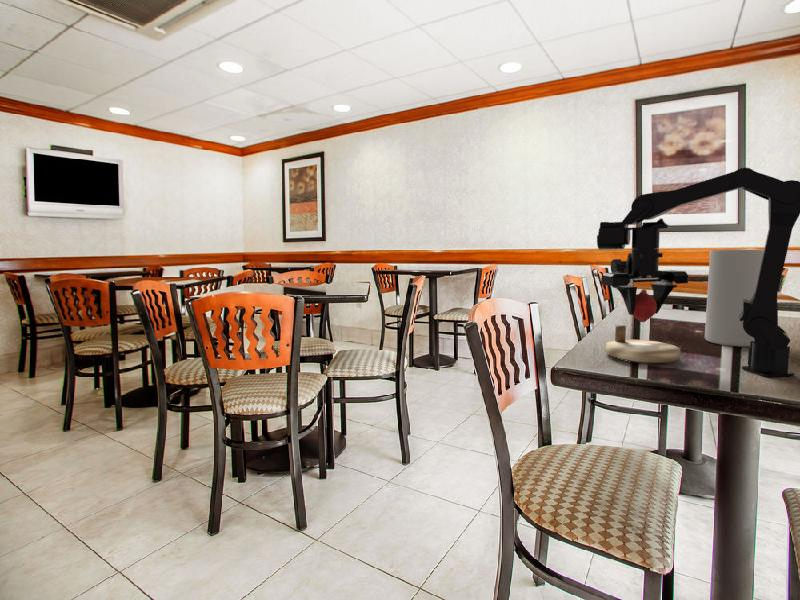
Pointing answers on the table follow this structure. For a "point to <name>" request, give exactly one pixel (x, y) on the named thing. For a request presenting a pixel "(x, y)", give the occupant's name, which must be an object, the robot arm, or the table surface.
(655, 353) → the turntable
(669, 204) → the robot arm
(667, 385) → the table surface
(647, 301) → the onion
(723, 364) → the table surface
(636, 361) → the susan base
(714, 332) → the cylinder vase
